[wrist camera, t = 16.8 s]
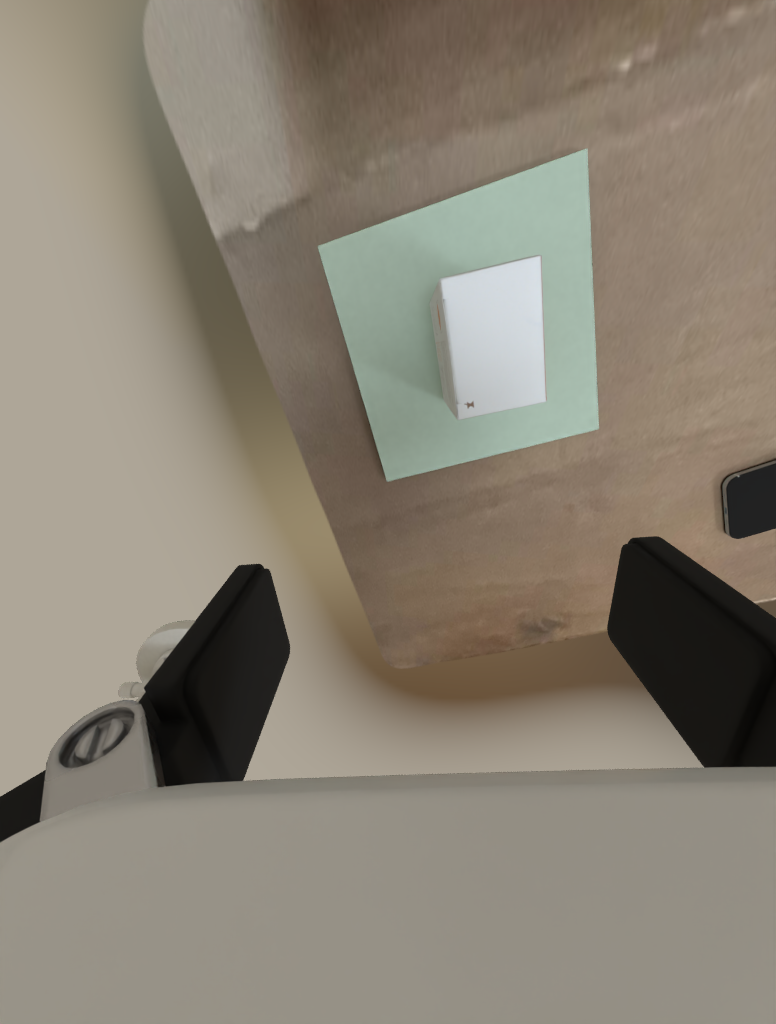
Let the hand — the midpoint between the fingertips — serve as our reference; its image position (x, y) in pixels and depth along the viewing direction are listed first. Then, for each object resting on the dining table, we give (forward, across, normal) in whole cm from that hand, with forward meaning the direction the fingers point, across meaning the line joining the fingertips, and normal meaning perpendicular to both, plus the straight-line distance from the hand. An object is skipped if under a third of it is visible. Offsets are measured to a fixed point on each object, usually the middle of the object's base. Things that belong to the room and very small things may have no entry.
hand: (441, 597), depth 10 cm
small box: (+26, -5, -6) cm, 27 cm away
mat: (+26, -5, -6) cm, 27 cm away
